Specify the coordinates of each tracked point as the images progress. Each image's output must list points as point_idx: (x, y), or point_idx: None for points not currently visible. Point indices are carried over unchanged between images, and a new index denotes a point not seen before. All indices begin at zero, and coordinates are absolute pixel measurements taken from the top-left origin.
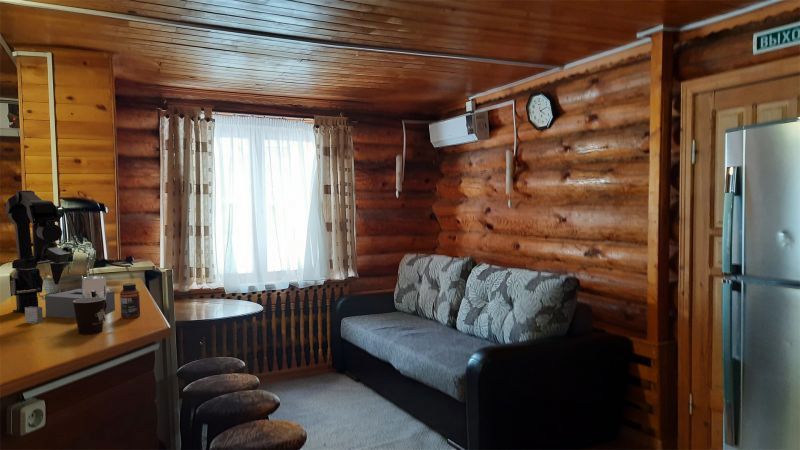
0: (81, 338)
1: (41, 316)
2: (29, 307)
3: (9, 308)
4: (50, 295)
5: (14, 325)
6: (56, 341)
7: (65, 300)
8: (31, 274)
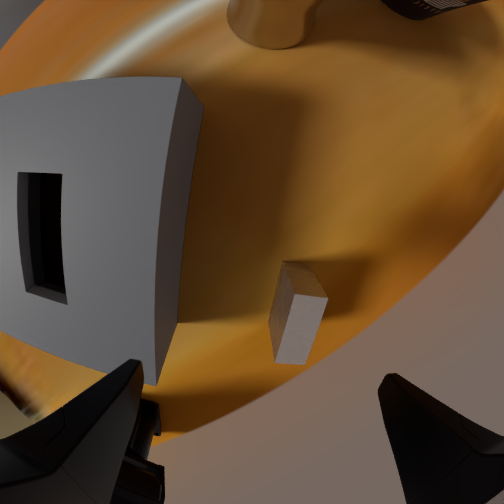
0: None
1: (292, 273)
2: (301, 349)
3: None
4: None
5: (337, 326)
6: (485, 58)
7: (162, 239)
8: (500, 435)
